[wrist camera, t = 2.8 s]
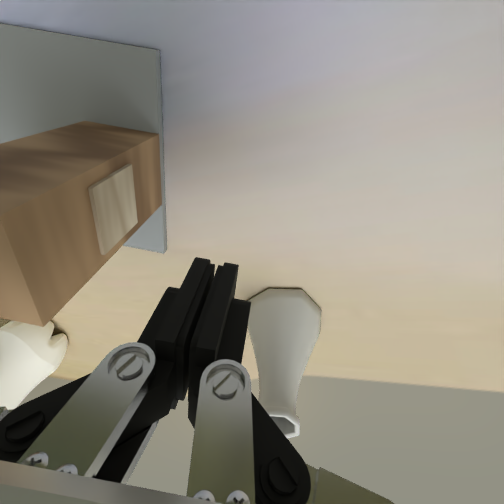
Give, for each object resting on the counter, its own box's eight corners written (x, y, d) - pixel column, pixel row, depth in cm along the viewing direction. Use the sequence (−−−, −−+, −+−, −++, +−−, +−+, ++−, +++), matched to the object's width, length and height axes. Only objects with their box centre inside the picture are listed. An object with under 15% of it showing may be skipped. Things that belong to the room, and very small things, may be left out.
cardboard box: (162, 134, 19) (5, 216, 9) (164, 204, 21) (48, 327, 11) (84, 120, 19) (-155, 185, 9) (97, 192, 22) (-75, 302, 12)
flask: (261, 346, 30) (247, 456, 21) (232, 295, 26) (201, 401, 18) (331, 334, 27) (346, 452, 19) (309, 276, 24) (314, 389, 16)
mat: (159, 50, 17) (155, 49, 16) (166, 249, 24) (164, 253, 24) (-132, 0, 17) (-144, -1, 17) (-34, 210, 25) (-41, 213, 25)
